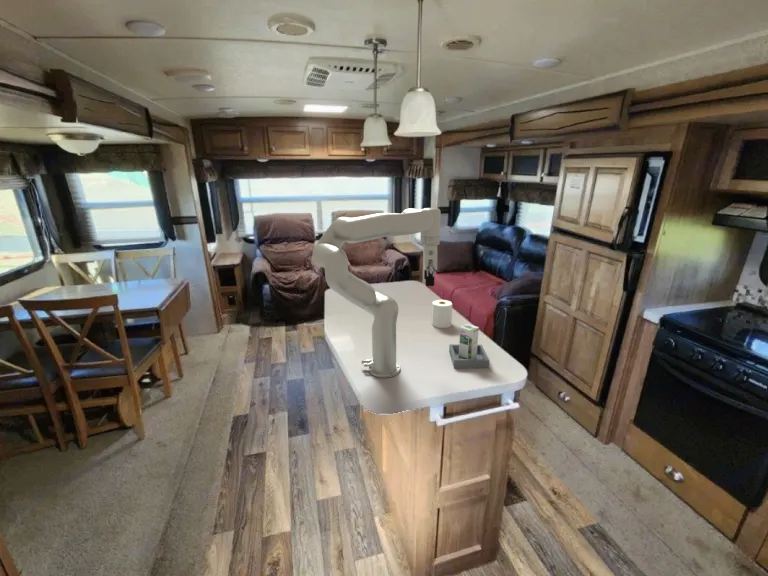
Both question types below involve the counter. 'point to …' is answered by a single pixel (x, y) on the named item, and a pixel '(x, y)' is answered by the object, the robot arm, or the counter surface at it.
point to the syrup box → (468, 342)
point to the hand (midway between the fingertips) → (429, 282)
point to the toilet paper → (441, 313)
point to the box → (479, 362)
